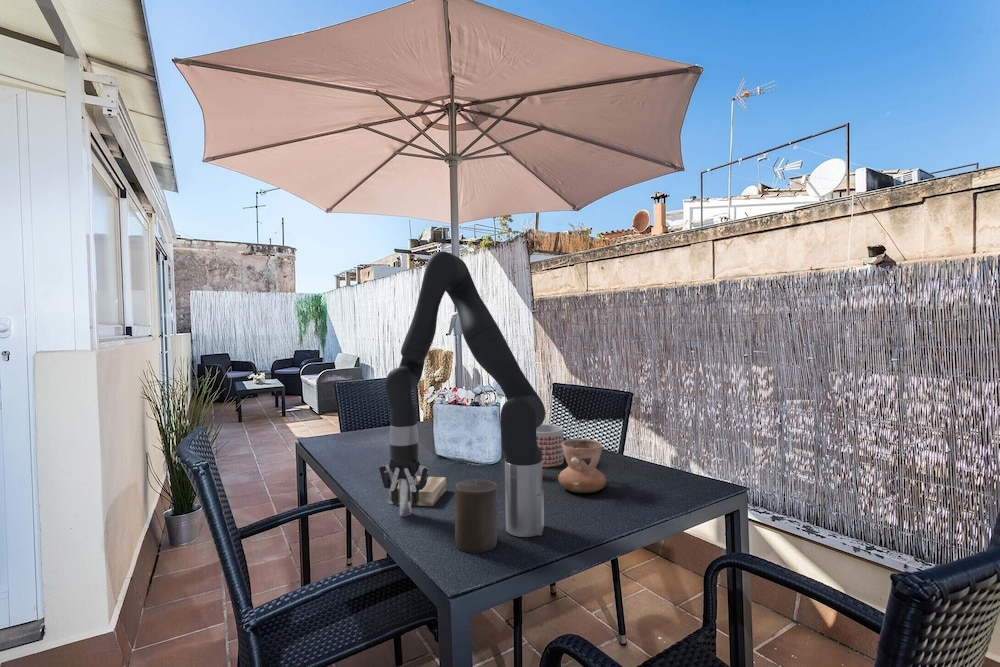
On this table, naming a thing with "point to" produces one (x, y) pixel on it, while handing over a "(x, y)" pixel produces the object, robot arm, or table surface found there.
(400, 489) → the steel pin
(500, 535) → the table surface
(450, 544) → the table surface
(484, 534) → the pillar candle
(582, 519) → the table surface
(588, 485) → the terracotta incense burner
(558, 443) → the planter
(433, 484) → the oak hole block
